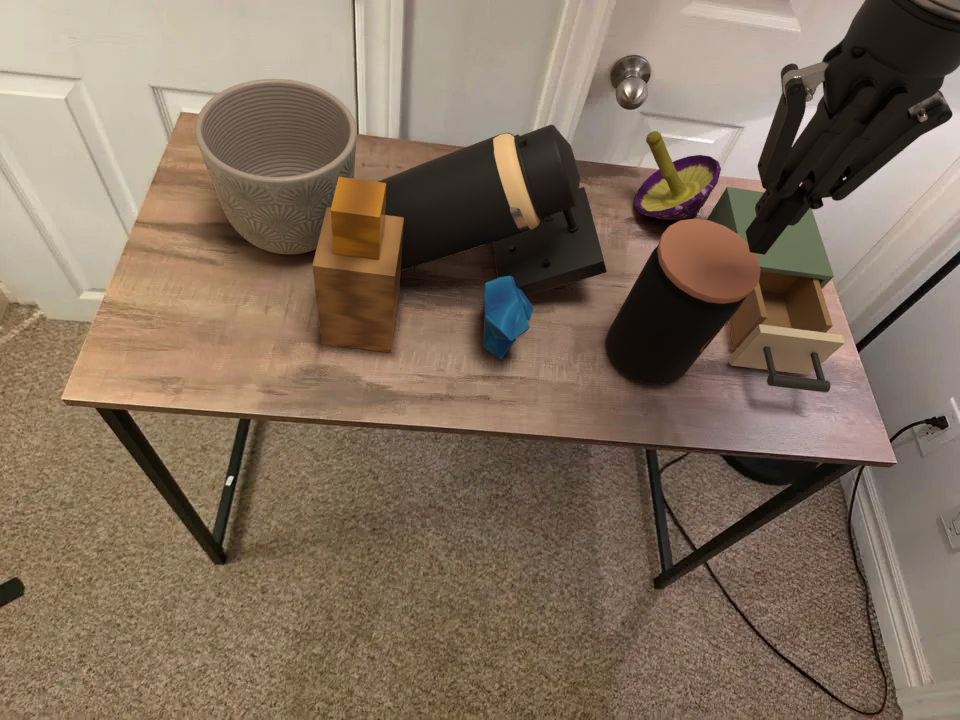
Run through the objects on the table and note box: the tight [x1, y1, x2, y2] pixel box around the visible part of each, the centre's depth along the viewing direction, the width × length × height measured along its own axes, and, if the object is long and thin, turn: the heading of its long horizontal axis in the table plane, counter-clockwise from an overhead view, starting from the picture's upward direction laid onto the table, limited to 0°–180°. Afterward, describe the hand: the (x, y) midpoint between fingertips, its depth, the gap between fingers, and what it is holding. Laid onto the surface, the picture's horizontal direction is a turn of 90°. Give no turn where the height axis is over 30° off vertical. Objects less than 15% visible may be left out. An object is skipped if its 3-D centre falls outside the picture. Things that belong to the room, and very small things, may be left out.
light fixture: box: [377, 124, 607, 297], centre depth 76 cm, size 13×18×26 cm
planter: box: [194, 78, 358, 255], centre depth 75 cm, size 17×17×15 cm
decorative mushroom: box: [633, 130, 722, 221], centre depth 89 cm, size 12×12×15 cm
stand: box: [312, 207, 404, 353], centre depth 70 cm, size 8×8×14 cm
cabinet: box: [706, 186, 835, 290], centre depth 85 cm, size 14×12×9 cm
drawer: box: [728, 271, 846, 393], centre depth 78 cm, size 18×10×7 cm, turn 177°
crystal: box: [482, 276, 535, 361], centre depth 73 cm, size 7×9×12 cm
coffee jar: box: [607, 218, 760, 386], centre depth 72 cm, size 11×11×18 cm
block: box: [330, 177, 386, 260], centre depth 61 cm, size 4×4×6 cm
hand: (755, 242), depth 60 cm, fingers closed
